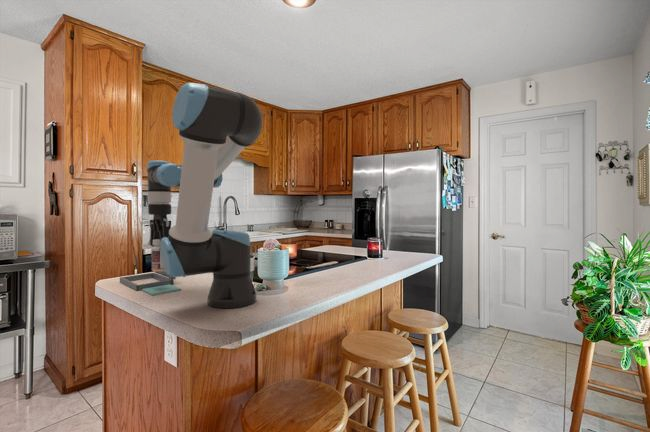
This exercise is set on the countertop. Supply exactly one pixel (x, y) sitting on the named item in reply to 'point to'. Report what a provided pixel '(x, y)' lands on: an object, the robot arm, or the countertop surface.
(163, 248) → the robot arm
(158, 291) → the pad
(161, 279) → the case
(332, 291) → the countertop surface
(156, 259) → the pill bottle
